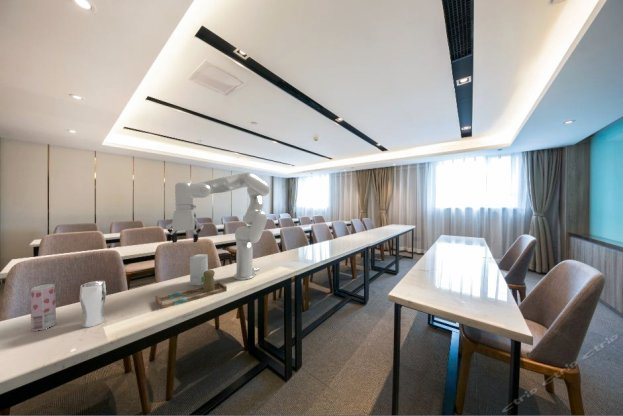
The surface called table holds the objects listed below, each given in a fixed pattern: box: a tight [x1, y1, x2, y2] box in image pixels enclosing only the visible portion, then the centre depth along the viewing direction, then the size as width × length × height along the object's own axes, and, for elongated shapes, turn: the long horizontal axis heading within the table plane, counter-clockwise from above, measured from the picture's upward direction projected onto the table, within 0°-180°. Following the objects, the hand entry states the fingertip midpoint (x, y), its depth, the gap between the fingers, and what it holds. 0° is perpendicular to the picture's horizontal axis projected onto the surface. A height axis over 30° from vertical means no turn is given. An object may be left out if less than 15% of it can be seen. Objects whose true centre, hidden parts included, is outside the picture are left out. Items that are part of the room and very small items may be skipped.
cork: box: [202, 269, 216, 294], centre depth 111 cm, size 6×6×11 cm
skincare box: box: [189, 253, 209, 286], centre depth 123 cm, size 8×7×16 cm
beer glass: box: [79, 280, 107, 328], centre depth 81 cm, size 7×7×15 cm
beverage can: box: [30, 283, 57, 332], centre depth 78 cm, size 6×6×15 cm
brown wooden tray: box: [154, 280, 227, 310], centre depth 106 cm, size 29×11×2 cm, turn 134°
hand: (185, 242), depth 107 cm, fingers open, 9 cm apart
